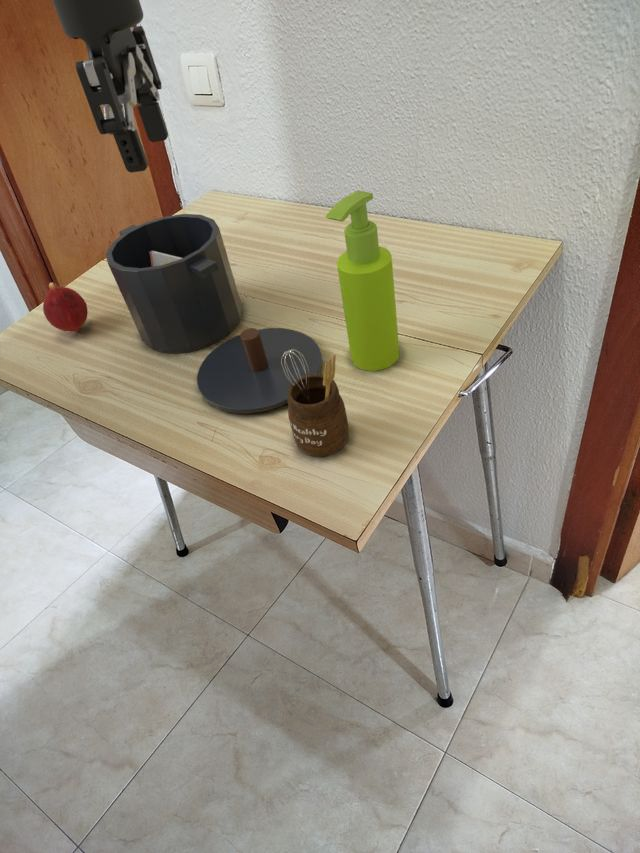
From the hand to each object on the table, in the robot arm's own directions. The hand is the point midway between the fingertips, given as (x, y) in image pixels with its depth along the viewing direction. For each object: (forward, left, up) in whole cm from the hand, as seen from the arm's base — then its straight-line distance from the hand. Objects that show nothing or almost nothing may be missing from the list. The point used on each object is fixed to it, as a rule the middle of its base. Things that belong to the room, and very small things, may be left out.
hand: (149, 154), depth 63 cm
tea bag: (-2, +5, -24) cm, 25 cm away
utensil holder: (+10, -24, -25) cm, 36 cm away
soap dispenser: (+19, -13, -25) cm, 34 cm away
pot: (-2, +6, -24) cm, 25 cm away
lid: (+5, -10, -24) cm, 26 cm away
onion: (-19, +12, -25) cm, 33 cm away
